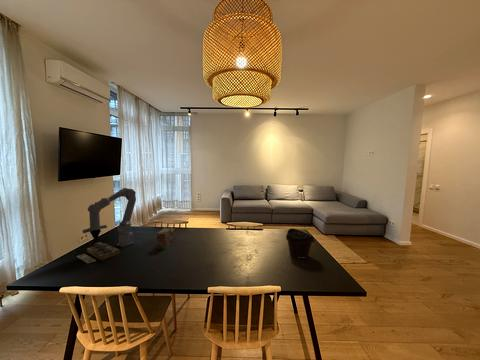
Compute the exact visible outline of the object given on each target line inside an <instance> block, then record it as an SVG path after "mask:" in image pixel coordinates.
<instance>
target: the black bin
mask: <svg viewBox="0 0 480 360" xmlns="http://www.w3.org/2000/svg"><path fill="white" fill-rule="evenodd" d="M285 239H286V241H287V244H288V251H289V255H290V257H293V259H298V260H299V259H300V260H305V259H308V257H309V254H310V251H311V247H312V244H314V243H315V238H314V236H313V234H309V233H306V232H304V231H301V230H299V229H296V228H289V229H288V230H287V234H286V236H285ZM307 256H308V257H307ZM298 257H301V258H298ZM302 257H305V258H302Z"/></svg>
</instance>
